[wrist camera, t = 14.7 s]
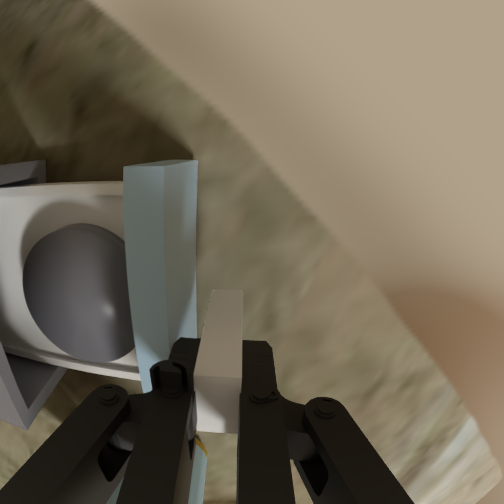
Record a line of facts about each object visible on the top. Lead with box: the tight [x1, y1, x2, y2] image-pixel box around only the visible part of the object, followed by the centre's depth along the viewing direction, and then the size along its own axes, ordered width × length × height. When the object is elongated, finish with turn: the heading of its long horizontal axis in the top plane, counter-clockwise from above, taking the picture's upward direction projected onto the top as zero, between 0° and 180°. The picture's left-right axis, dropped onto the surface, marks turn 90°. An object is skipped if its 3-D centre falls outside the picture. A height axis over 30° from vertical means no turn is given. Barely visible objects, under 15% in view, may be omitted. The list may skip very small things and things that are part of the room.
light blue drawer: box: [0, 160, 198, 393], centre depth 15 cm, size 18×14×7 cm
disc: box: [22, 223, 135, 363], centre depth 16 cm, size 8×8×2 cm
